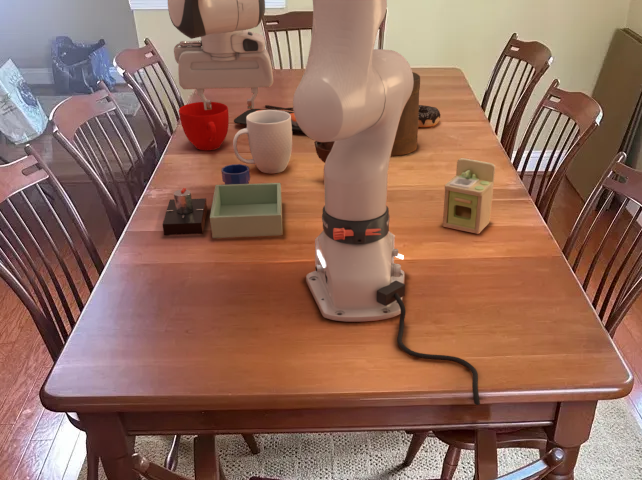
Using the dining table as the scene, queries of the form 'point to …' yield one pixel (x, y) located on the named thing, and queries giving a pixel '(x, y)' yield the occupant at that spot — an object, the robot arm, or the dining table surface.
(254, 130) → the mug
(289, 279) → the dining table surface
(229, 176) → the blue cup
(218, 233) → the basin
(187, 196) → the rotary knob
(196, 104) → the ceramic cup
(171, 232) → the black dial base
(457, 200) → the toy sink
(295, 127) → the sushi plate
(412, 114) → the wooden container
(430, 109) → the donut
